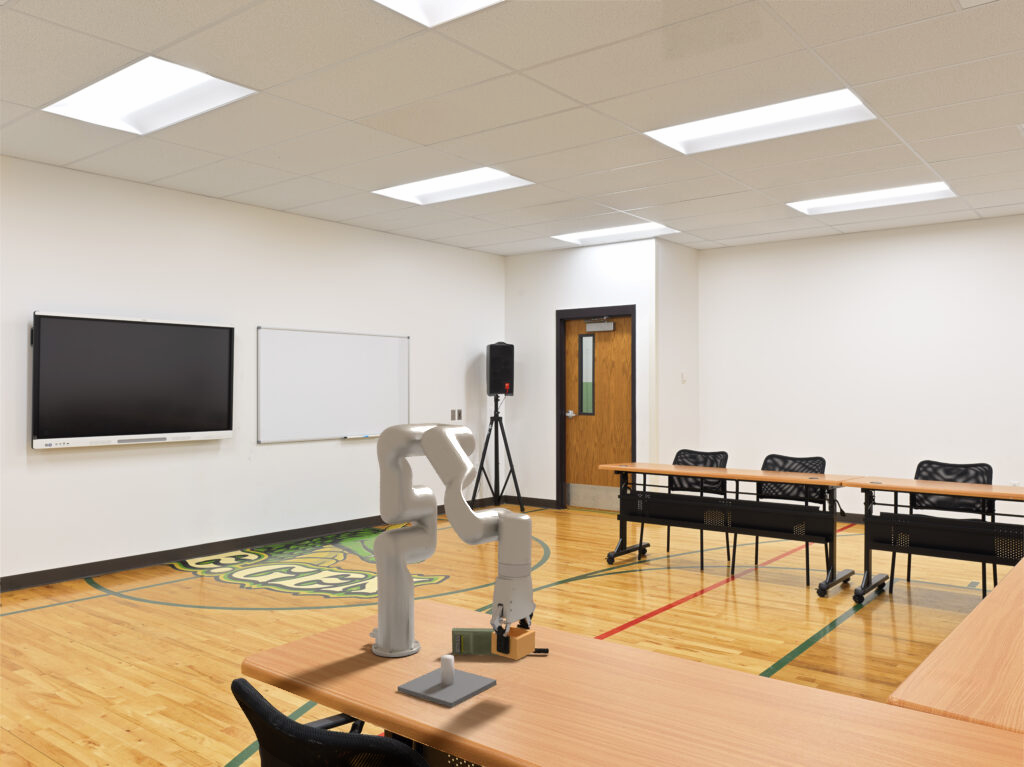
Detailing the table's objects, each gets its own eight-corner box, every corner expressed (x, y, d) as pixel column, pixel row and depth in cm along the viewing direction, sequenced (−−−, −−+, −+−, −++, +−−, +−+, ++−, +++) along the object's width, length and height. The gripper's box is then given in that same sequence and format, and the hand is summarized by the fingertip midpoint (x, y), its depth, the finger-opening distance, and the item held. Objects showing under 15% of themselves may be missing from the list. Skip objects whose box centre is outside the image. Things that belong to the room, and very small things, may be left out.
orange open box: (491, 652, 174) (491, 632, 174) (509, 644, 179) (510, 624, 179) (516, 660, 170) (517, 639, 169) (534, 651, 175) (535, 631, 175)
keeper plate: (397, 691, 176) (397, 660, 176) (443, 669, 189) (443, 641, 189) (451, 707, 167) (451, 675, 167) (496, 684, 180) (496, 654, 180)
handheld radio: (453, 651, 203) (549, 653, 201) (451, 656, 200) (548, 658, 198) (453, 626, 203) (548, 628, 201) (451, 631, 199) (548, 632, 198)
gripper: (523, 559, 183) (521, 634, 184) (477, 574, 169) (476, 655, 170) (549, 564, 179) (548, 641, 179) (505, 580, 165) (503, 663, 165)
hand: (513, 647), depth 174 cm, fingers closed on orange open box, 7 cm apart
